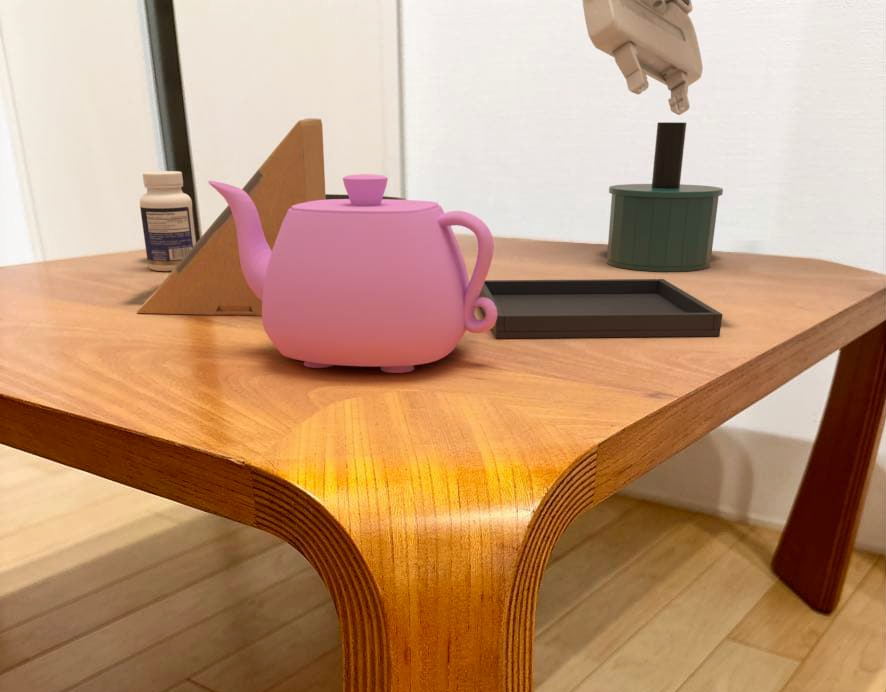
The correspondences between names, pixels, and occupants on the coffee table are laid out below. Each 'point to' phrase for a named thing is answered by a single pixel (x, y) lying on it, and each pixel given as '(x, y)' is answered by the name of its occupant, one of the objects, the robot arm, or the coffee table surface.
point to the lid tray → (597, 309)
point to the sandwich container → (216, 253)
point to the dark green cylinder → (661, 233)
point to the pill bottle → (166, 220)
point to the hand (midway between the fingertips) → (661, 101)
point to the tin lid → (667, 169)
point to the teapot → (364, 277)
